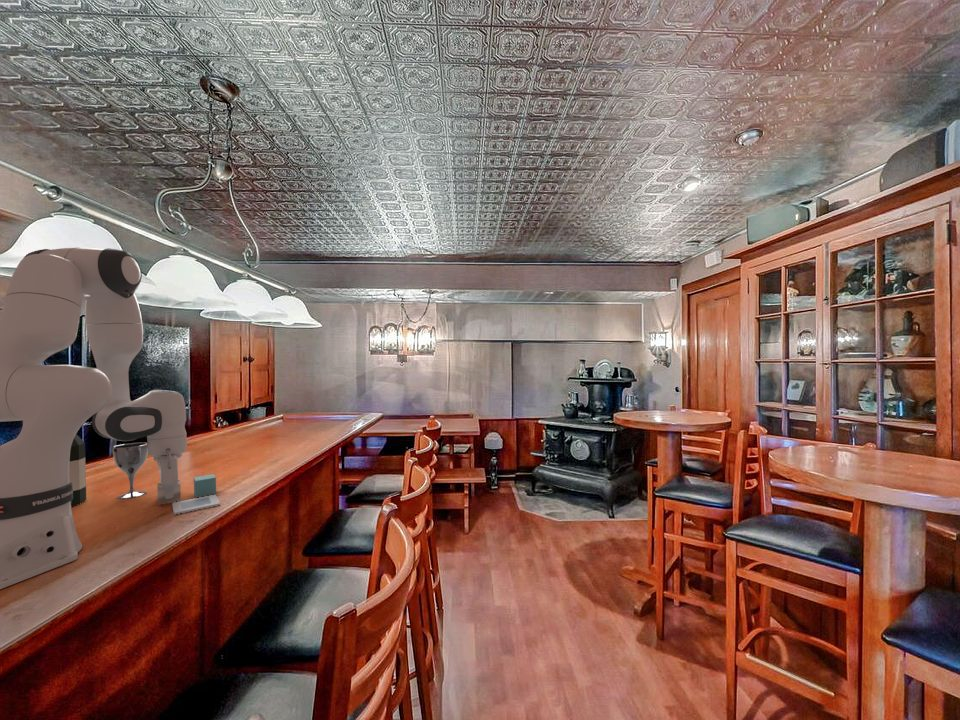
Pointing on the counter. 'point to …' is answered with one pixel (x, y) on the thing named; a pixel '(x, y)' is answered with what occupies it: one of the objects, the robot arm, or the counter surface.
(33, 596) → the counter surface
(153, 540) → the counter surface
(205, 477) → the teal block
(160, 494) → the off-white block
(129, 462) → the wine glass
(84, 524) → the counter surface
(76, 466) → the wine bottle
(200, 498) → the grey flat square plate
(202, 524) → the counter surface
